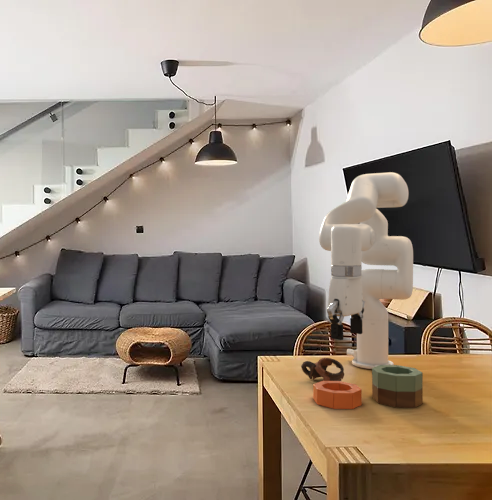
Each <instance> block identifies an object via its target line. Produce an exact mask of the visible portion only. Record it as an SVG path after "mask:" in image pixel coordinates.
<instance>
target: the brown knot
mask: <svg viewBox="0 0 492 500" xmlns="http://www.w3.org/2000/svg"><path fill="white" fill-rule="evenodd" d="M332 365H335V367H336V368H337V369H340V371H338V372H336V373H332V372H330V371H328V370H327V369H328V367H330V366H332ZM300 367H301V370H302V372H303V373H304V374H305V375H306V376H307V377H308V378H309V379H310V380H313V381H314V380H316V379H318V378H322V381H342V380H343V379H344V377H345V369H344V366H343V364H342V363H341V362H339V361H338V360H336V359H334V358H331V357H322V358H320V359H318V361H316V362H313V361H310V360H305V361H303V362H302V364H301V366H300Z"/></svg>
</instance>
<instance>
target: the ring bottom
mask: <svg viewBox="0 0 492 500" xmlns="http://www.w3.org/2000/svg"><path fill="white" fill-rule="evenodd" d="M423 392H424V391H423V388H422V389H420V390H418V391H415V392H395V391H391V390H386V389H381V388H378V387H377V386H375V385H374V384H373V383H372V382H371V394H372V395H371V396H372V399H373V400H374V401H375V402H376V403H377V404H379V405H383V406H387V407H393V408H399V409H400V408H403V409H404V408H406V409H408V408H411V409H415V408H417V407H419V406H421V405H423V402H424V401H423V399H424V395H423V394H424V393H423Z"/></svg>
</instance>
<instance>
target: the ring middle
mask: <svg viewBox="0 0 492 500" xmlns="http://www.w3.org/2000/svg"><path fill="white" fill-rule="evenodd" d="M423 374H424V373H423V371H421V370H419V369H417V368H415V367H412V366H405V365H399V364H394V365H379V366H376V367H374V368H372V369H371V375H372V376H371V384H372V383H373V384H374V385H375V386H377V387H378V388H381V389H386V390H391V391H395V392H415V391H418V390H420V389H422V388H423V387H424V385H423V384H424V383H423V376H424V375H423Z"/></svg>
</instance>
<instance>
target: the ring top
mask: <svg viewBox="0 0 492 500" xmlns="http://www.w3.org/2000/svg"><path fill="white" fill-rule="evenodd" d="M312 387H313V388H312V389H313V391H312V392H313V393H312V394H313V395H312V397H313V399H312V400H313V401H314V402H315V403H316V404H317V405H318V406H322V407H325V408H329V409H334V410H354V409H357V408H358V407H360V406H362V402H363V401H362V399H363V398H362V395H363V394H362V388H361V387H359V386H358V384H356V383H351V382H346V381H342V380H341V381H323V380H321V381H318V382H315V383H313V385H312Z"/></svg>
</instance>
